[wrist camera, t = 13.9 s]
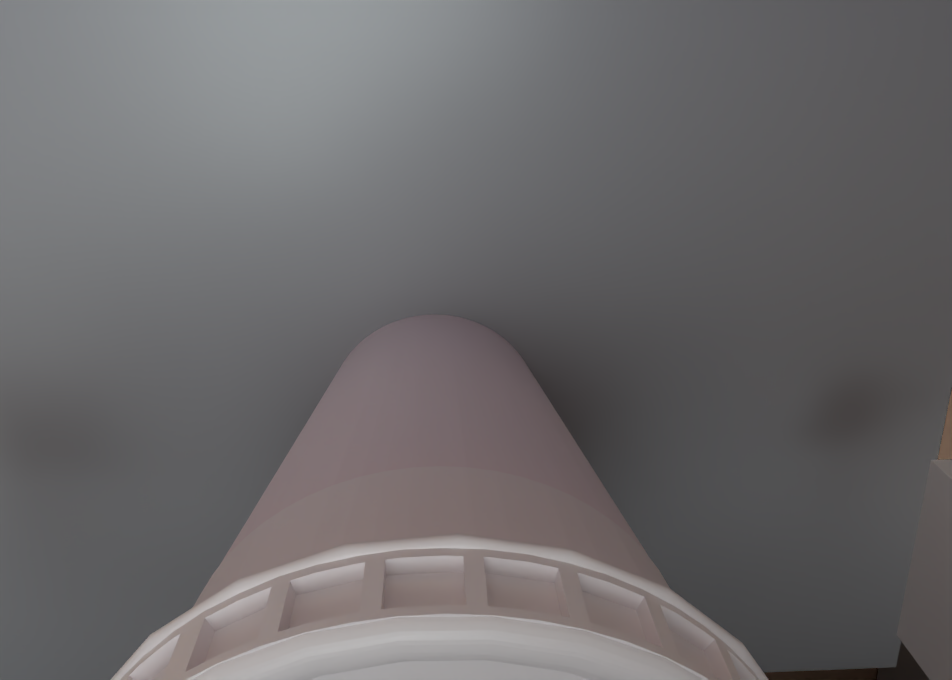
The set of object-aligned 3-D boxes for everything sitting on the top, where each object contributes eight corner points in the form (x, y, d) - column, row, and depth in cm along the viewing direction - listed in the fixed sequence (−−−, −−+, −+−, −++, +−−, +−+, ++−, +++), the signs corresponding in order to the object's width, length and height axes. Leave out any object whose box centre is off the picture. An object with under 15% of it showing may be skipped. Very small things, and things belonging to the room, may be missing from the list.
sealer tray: (-237, -179, 14) (-641, -288, 9) (1017, -177, 15) (1341, -273, 10) (-31, 637, 19) (-201, 873, 14) (874, 604, 20) (1029, 815, 15)
